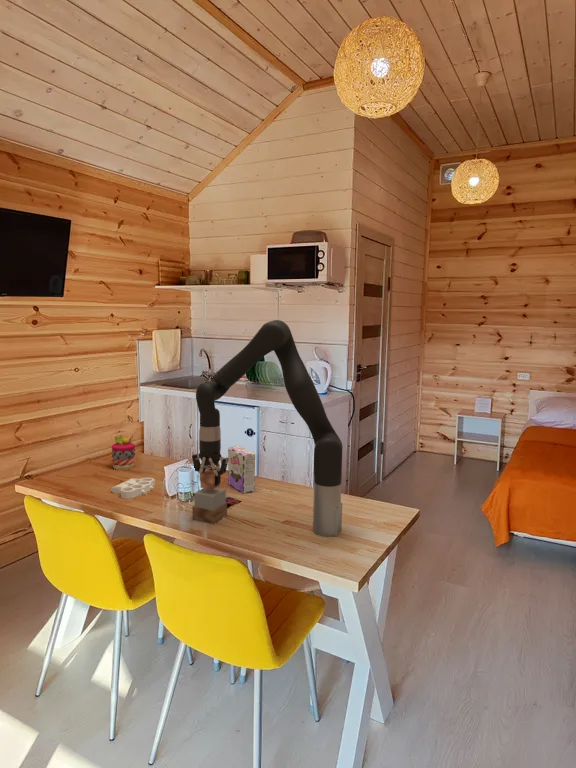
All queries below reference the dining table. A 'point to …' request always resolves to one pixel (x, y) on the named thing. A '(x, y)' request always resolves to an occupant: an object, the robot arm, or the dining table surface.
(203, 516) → the tower bottom
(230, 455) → the candy box
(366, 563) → the dining table surface
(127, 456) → the cake
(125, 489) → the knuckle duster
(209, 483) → the terracotta cube
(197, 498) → the tower top
